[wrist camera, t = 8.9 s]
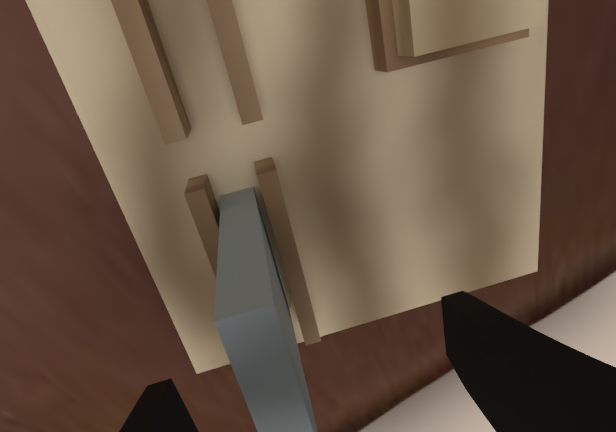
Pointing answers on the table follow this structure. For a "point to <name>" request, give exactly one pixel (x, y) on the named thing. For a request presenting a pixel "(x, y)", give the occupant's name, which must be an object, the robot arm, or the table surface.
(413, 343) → the table surface
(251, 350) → the grey blue slab
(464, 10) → the offcut top
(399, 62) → the plate
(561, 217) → the table surface
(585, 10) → the table surface
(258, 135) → the rack
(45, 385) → the table surface
